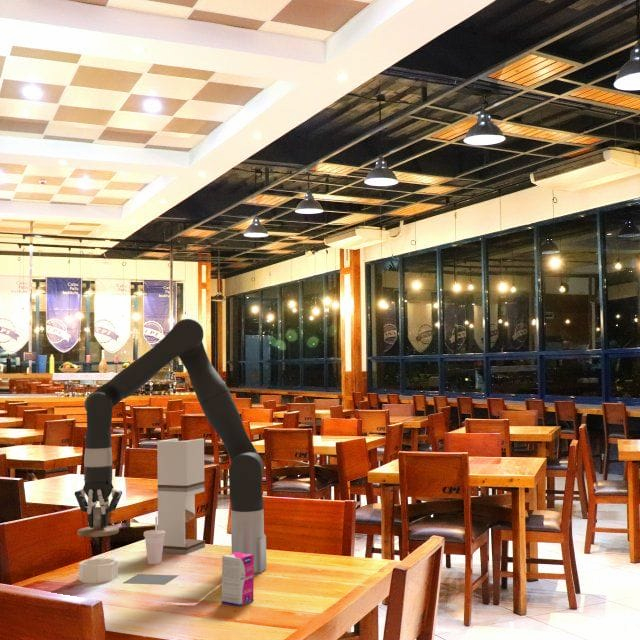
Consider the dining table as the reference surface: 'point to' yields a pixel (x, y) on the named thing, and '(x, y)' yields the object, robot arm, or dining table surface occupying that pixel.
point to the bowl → (98, 570)
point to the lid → (97, 527)
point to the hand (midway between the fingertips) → (98, 527)
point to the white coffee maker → (179, 491)
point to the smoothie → (154, 544)
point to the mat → (151, 579)
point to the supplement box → (237, 578)
